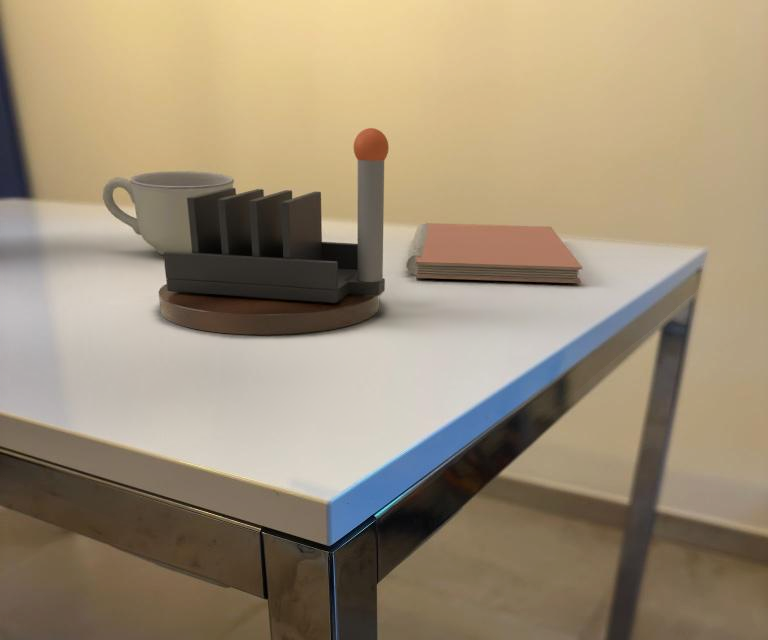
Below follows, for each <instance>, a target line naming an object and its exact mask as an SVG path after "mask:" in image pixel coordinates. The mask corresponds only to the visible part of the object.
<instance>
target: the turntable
mask: <svg viewBox="0 0 768 640" xmlns="http://www.w3.org/2000/svg"><path fill="white" fill-rule="evenodd" d="M158 301H159V307H160V308H159V309H160V310H159V311H160V314H161V315H162V316H163V317H164V318H165V319H166V320H167V321H169V322H171V323H174V324H176V325H180V326H182V327H186V328H190V329H194V330H200V331H203V332H204V331H205V332H211V333H218V334H219V333H220V334H231V335H247V336H278V335H280V336H282V335H297V334H308V333H309V334H310V333H317V332H326V331H330V330H337V329H341V328H346V327H349V326H350V327H351V326H353V325H356V324H360V323H362V322H365V321H366V320H369V319H371V318H372V317H374V316H375V315H376V314H377V313H378V311H379V307H380V305H379V304H380V295H379V296H374V295H360V294H347V295H346V296H345V297H343V298H342V299H341V300H340V301H338V302H337V303H324V302H311V301H297V300H283V299H269V298H255V297H241V296H227V295H213V294H200V293H186V292H172V291H168V290H167V283H165V284H164V285H162V286H161V287H160V288H159V290H158Z"/></svg>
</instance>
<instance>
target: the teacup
mask: <svg viewBox="0 0 768 640" xmlns="http://www.w3.org/2000/svg"><path fill="white" fill-rule="evenodd" d="M234 183H235V179H234V177H232V176H230V175H227V174H223V173H217V172H207V171H195V170H194V171H193V170H190V171H189V170H185V171H184V170H175V171H172V170H171V171H169V170H168V171H155V172H146V173H140V174H136V175H133V176H132V177H130V180H129V179H127V178H124V177H113V178H111V179H110V180H108V181H107V182H106V183H105V185H104V187H103V190H102V201H103V203H104V206H105V207H106V210H108V212H109V213H110V214H111V215H112V216H113V217H114V218H116V219H117V220H119V221H120V222H122V223H124V224H126V225H127V226H129V227H130V228H132V230H133V231H134V233H135V234H136V235H138V236H141V237H142V239H143V240H144V241H145V243H147V245H149V246H151V247H152V248H154V250H155V251H156V252H157V253H159V254H160V255H163V252H166V251H173V252H189V253H192V246H191V235H190V225H189V214H188V204H187V198H188V197H192V196H197V195H201V194H205V193H209V192H214V191H218V190H222V189H227V188H234ZM117 188H120V189H123V190H125V191H126V192H127V194H128V195H129V197H130V200H131V202H132V203H133V204H134V210H135V216H136V217H134V216H132V215H130V214H128V213H127V212H125V211H124V210H122V209H121V207H119V206H118V204H116V202H115V200H114V191H115V190H116V189H117Z"/></svg>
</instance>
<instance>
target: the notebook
mask: <svg viewBox="0 0 768 640" xmlns="http://www.w3.org/2000/svg"><path fill="white" fill-rule="evenodd" d="M405 265H406V270H407V271H408V272H409V273H410V274H411V275H413V276H415V278H416V279H443V280H473V281H476V280H477V281H499V282H500V281H503V282H504V281H505V282H530V283H531V282H532V283H533V282H535V283H558V284H559V283H561V284H562V283H564V284H566V283H567V284H581V279H580V278H579V273H580V272H579V271H580V270H583V266H582V264H581V263H580V262H579V260H577V258H576V257H575V256H574V254H573V253H572V252H571V250H570V249H569V248H568V247H567V245H566V244H565V242H564V241H563V240H562V239H561V238H560V236H559V235H558V234H557V233H556V232H555V230H554V229H553V228H552V226H542V225H541V226H539V225H538V226H537V225H508V224H500V225H499V224H476V223H475V224H473V223H472V224H470V223H440V222H439V223H437V222H425V223H421V224H418V225H417V226H416V229H415V232H414V236H413V239H412V242H411V246H410V249H409V253H408V256H407V259H406V263H405Z"/></svg>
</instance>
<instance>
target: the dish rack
mask: <svg viewBox="0 0 768 640" xmlns="http://www.w3.org/2000/svg"><path fill="white" fill-rule="evenodd" d="M353 154H354V157H355V158H356V160H357V243H353V242H337V241H336V242H333V241H323V231H322V230H323V227H322V192H321V191H312V192H309V193H305V194H303V195H300V196H296V197H293V190H289V189H288V190H287V189H286V190H282V191H278V192H274V193H271V194H268V195H265V191H264V189H263V188H257V189H253V190H252V189H251V190H248V191H244V192H241V193H237V188H235V187H233V188H227V189H222V190H218V191H214V192H209V193H205V194H201V195H197V196H192V197H188V198H187V204H188V214H189V225H190V235H191V246H192V253H189V252H173V251H166V252H163V256H162V257H163V264H164V272H165V280H166V284H167V290H168V291H172V292H186V293H200V294H213V295H227V296H241V297H255V298H269V299H283V300H297V301H311V302H324V303H337V302H338V301H340V300H341V299H342V298H343V297H345V296H346V295H347V294H360V295H374V296H379V297H380V295H382V293H384V292H385V290H386V289H385V287H386V279H385V278H384V277H383V276H384V273H383V271H384V270H383V269H384V215H385V214H384V213H385V212H384V209H385V207H384V206H385V205H384V203H385V160H386V159H387V156H388V154H389V141H388V139H387V137H386V135H385V133H383V132H382V131H381V130H379V129H377V128H373V127H368V128H364V129H362V130H361V131H360V132H359V133H358V134H357V135H356V137H355V139H354V142H353Z"/></svg>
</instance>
